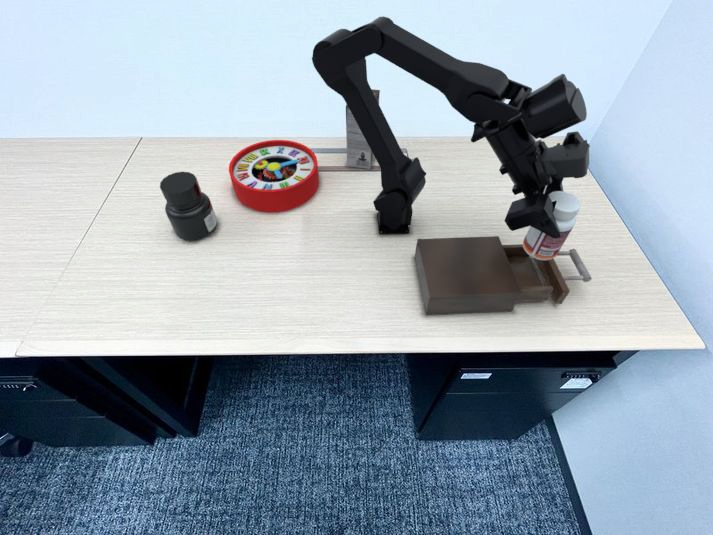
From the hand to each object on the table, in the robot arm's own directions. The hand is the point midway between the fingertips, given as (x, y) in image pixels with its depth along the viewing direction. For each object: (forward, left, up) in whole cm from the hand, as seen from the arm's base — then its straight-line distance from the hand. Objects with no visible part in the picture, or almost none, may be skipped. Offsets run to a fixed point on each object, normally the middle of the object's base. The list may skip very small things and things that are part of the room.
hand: (561, 225), depth 67 cm
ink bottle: (-68, +17, -13) cm, 71 cm away
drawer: (-3, -1, -12) cm, 13 cm away
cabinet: (-15, -1, -13) cm, 20 cm away
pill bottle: (-1, +1, -7) cm, 7 cm away
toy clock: (-52, +31, -13) cm, 62 cm away
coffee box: (-31, +41, -13) cm, 53 cm away
